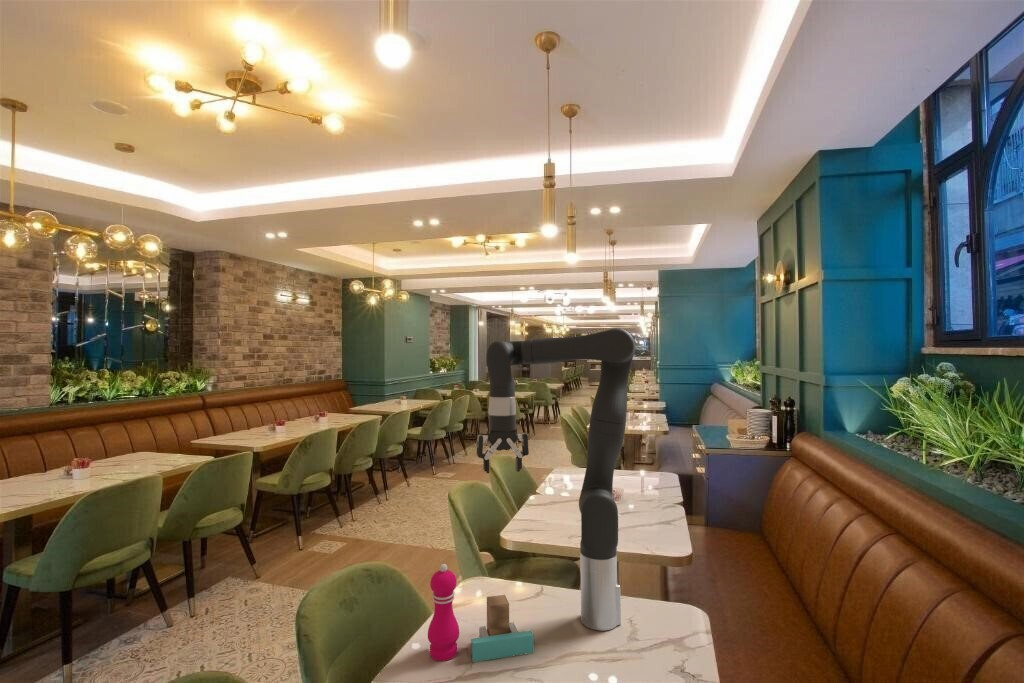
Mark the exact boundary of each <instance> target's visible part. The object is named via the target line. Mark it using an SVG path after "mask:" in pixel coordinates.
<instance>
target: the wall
mask: <svg viewBox="0 0 1024 683" xmlns="http://www.w3.org/2000/svg"><path fill="white" fill-rule="evenodd" d="M534 639H535V638H534V634H533V631H532V630H526V631H518V632H516V633H509V634H502V635H495V636H487V637H480V638H479V637H475V638H471V660H472V662H473V663H475V662H476V661H477V662H482V661H481V660H483V661H489V660H488V659H490V660H495V658H497V659H502V657H504V658H508V657H507V656H510V657H514V656H513V655H517V656H520V655H519V654H524V655H526V654H525V653H530V654H534V653H533V652H535V651H534V647H535V645H534V644H535V643H534Z"/></svg>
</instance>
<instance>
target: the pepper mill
mask: <svg viewBox="0 0 1024 683" xmlns="http://www.w3.org/2000/svg"><path fill="white" fill-rule="evenodd" d="M457 583H458V582H457V576H456V574H455V573H454V572H453V571H451V570H449V569H448V565H447V564H446V563H441V565H440V566H439V570H437V571H435V573H434V574H432V576H431V578H430V583H429V585H430V590H431V591H432V601H433V602H434V612H433V616H432V619H431V621H430V623H429V626H428V630H427V640H428V642H429V643H430V645H429V655H430V658H432V660H434V661H439V662H444V661H445V662H446V661H448V660H451V659H453V658H454V657H456V655H457V653H458V643H457V641H458V639H459V638H460V627H459V623H458V621H457V618H456V617H455V613H454V610H453V608H454V607H453V603H454V602H453V601H454V600H455V591H454V590H455V589H456V588H457Z"/></svg>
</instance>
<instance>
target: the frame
mask: <svg viewBox="0 0 1024 683" xmlns="http://www.w3.org/2000/svg"><path fill="white" fill-rule="evenodd" d="M516 632H519V630H518V628H517V626H516V624H515V622H514V621H512V622H509V633H516ZM509 633H507V634H509ZM500 635H502V634H500ZM487 636H489V635H488V632H487V625H482V626H478V638H480V637H487ZM493 636H495V635H493Z"/></svg>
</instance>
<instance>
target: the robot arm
mask: <svg viewBox="0 0 1024 683" xmlns="http://www.w3.org/2000/svg"><path fill="white" fill-rule="evenodd" d="M635 352H636V341H635V339H634V337H633V336H632V334H631V333H630V332H629V331H627V330H626V329H623V328H621V327H613V328H610V329H606V330H603V331H599V332H595V333H590V334H589V333H588V334H585V335H578V336H563V337H562V336H561V337H559V336H558V337H542V338H541V337H540V338H539V337H538V338H529V339H525V340H518V341H517V340H516V341H512V340H511V341H503V340H495V341H493V342H491V343H490V344H489V345H488V347H487V350H486V357H485V361H486V369H487V374H488V378H489V401H488V402H489V403H488V434H487V435H485V434H483V435H482V434H478V435H477V436H476V438H477V439H476V440H477V441H476V456H477V457H478V458H480V459H482V461H483V464H482V465H483V466H482V468H483V471H484V472H485V473H486V474H490V457H491V456H492V454H494V453H495V451H500V452H501V451H503V450H505V451H510V450H512V451H513V453H514V454H515V471H516V472H517V473H519V472H520V471H521V470H522V468H523V457H525V456H528V455H529V453H530V450H529V439H528V438H529V436H528V434H527V433H526V432H521V433H517V402H516V384H515V377H514V376H513V375H512V366H520V365H546V364H557V363H564V362H570V361H580V360H581V361H582V360H583V361H584V360H587V361H588V360H591V361H592V360H594V361H601V362H600V363H601V365H600V378H599V382H598V387H597V390H596V393H595V397H594V400H593V404H592V408H591V412H590V419H589V424H588V425H589V426H588V434H587V435H588V436H587V451H586V453H587V454H586V468H585V472H584V473H585V474H584V478H583V482H582V486H581V491H580V495H579V500H578V509H579V512H580V521H581V525H580V526H581V527H580V528H581V529H580V530H581V531H580V533H581V538H580V543H579V547H580V549H579V550H580V553H579V556H580V558H579V560H580V619H581V624H582V625H584V627H586V628H589V629H591V630H594V631H609V630H613V629H614V628H616V627H617V626H620V625H622V608H621V606H622V604H621V602H622V600H621V595H622V594H621V586H620V584H619V583H618V560H617V559H618V558H617V557H618V555H617V554H618V553H617V551H618V550H617V549H618V544H619V510H618V505H617V502H616V501H615V500H614V497H613V483H614V473H615V469H616V468H615V467H616V464H617V462H618V459H619V455H620V453H621V450H622V448H623V444H624V439H625V432H626V424H627V423H626V422H627V414H628V412H627V411H628V382H629V377H630V372H631V367H632V364H633V363H632V362H633V359H634V354H635ZM518 439H519V441H520V442H521V449H522V450H519V448H518V447H517V445H516V444H515V443H516V442H517V441H518ZM486 441H488V442H489V443H490V444H489V445H488V447H487V448H486V450H485V452H484V451H483V449H484V448H483V447H484V444H486ZM483 452H484V453H483Z"/></svg>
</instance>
